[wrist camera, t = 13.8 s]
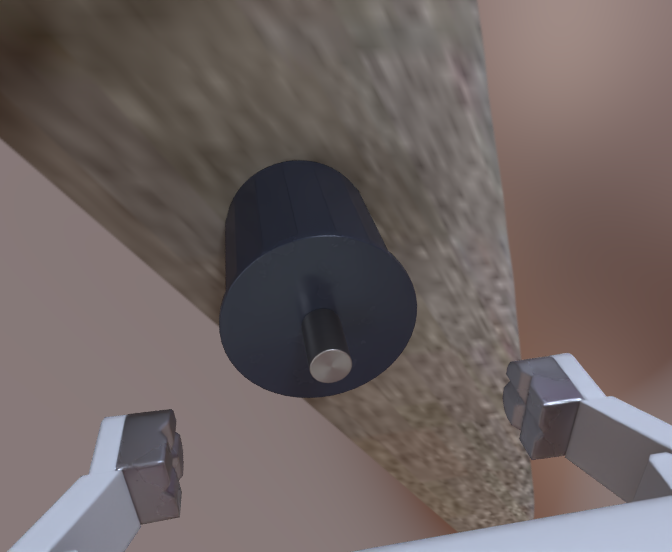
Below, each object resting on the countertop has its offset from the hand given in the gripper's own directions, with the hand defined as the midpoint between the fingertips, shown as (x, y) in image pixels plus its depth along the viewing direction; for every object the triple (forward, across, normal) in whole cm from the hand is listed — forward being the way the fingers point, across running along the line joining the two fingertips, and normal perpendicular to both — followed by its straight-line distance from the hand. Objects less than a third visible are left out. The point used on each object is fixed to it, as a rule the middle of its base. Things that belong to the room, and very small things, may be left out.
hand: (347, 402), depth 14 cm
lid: (+19, -2, +11) cm, 22 cm away
